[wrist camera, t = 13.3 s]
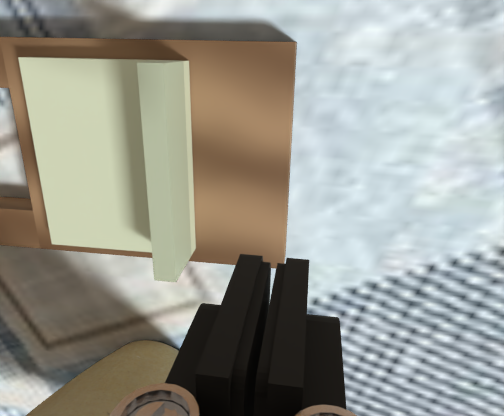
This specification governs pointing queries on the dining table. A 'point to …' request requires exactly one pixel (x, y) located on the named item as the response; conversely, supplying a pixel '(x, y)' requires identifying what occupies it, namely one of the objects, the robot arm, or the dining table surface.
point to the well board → (203, 141)
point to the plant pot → (111, 380)
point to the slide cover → (115, 154)
